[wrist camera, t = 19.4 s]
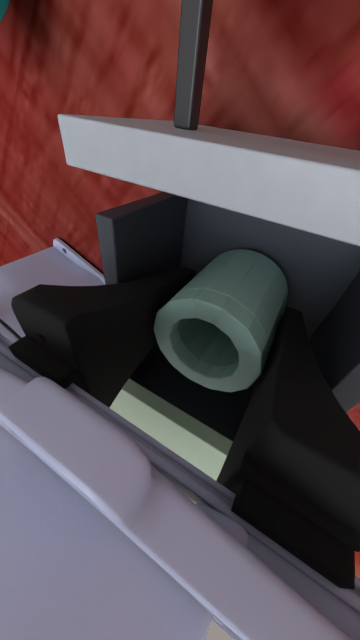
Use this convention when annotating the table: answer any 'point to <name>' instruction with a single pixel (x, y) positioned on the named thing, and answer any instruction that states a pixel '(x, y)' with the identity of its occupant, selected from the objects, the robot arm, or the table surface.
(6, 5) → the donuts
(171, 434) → the green drawer cabinet
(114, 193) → the table surface
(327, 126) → the table surface
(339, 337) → the drawer
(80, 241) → the table surface
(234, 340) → the jar
